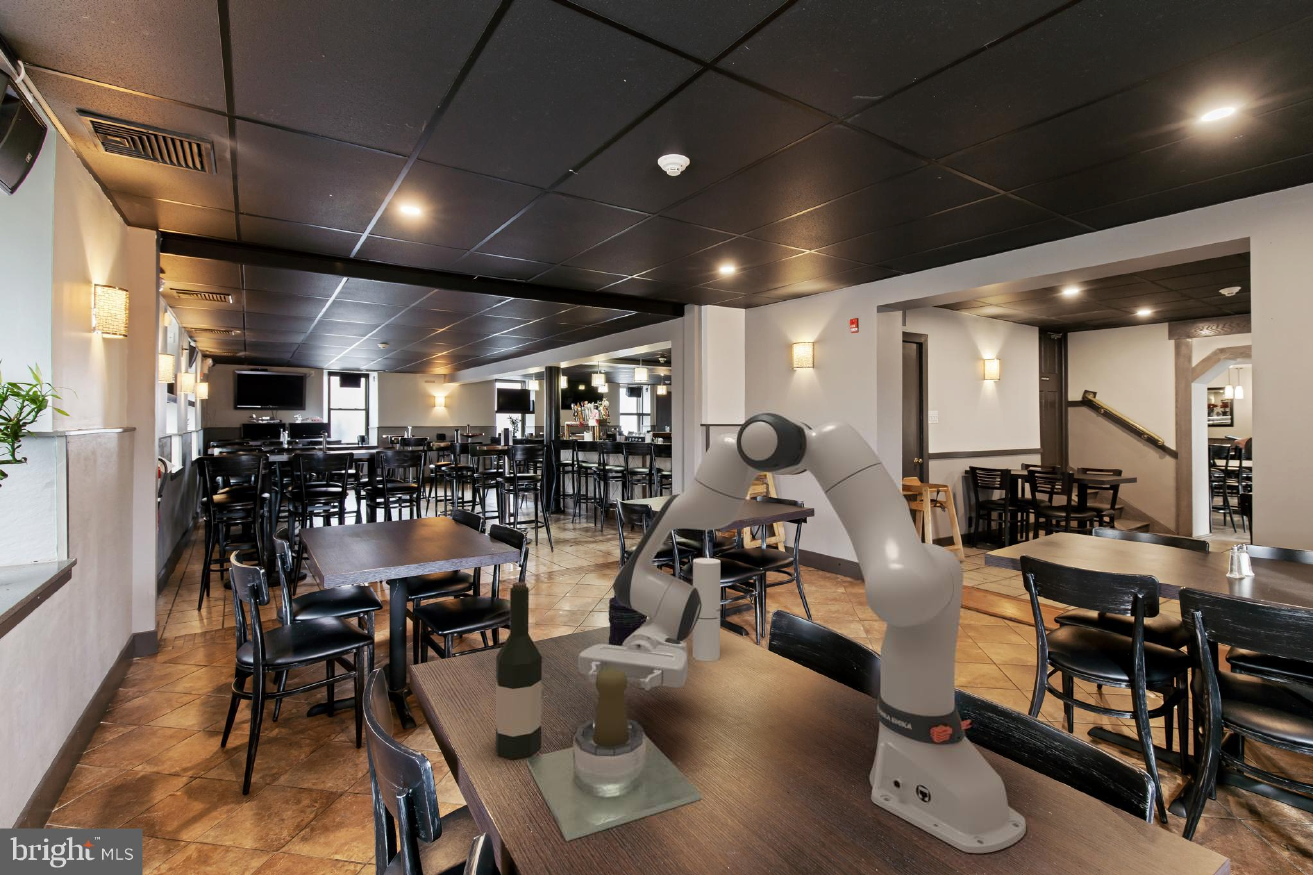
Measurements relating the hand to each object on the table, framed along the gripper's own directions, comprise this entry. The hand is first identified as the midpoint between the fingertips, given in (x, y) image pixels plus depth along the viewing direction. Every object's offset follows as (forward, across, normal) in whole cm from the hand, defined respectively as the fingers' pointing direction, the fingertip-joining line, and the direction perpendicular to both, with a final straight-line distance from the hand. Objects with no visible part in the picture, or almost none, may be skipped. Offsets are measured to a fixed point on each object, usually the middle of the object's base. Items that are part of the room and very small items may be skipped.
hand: (617, 681), depth 100 cm
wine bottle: (-1, -20, +15) cm, 25 cm away
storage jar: (-49, -17, +15) cm, 54 cm away
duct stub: (+3, 0, +15) cm, 15 cm away
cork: (+3, 0, +8) cm, 9 cm away
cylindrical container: (-57, +2, +15) cm, 59 cm away
